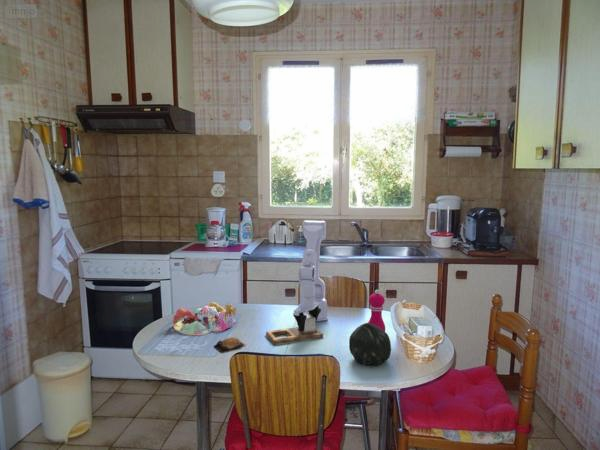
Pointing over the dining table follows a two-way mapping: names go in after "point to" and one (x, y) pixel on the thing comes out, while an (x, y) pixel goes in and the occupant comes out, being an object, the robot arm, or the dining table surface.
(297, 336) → the wooden board with holes
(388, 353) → the squash
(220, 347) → the bread roll
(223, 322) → the candy landscape model
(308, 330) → the light grey block
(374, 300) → the pepper mill
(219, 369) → the dining table surface
